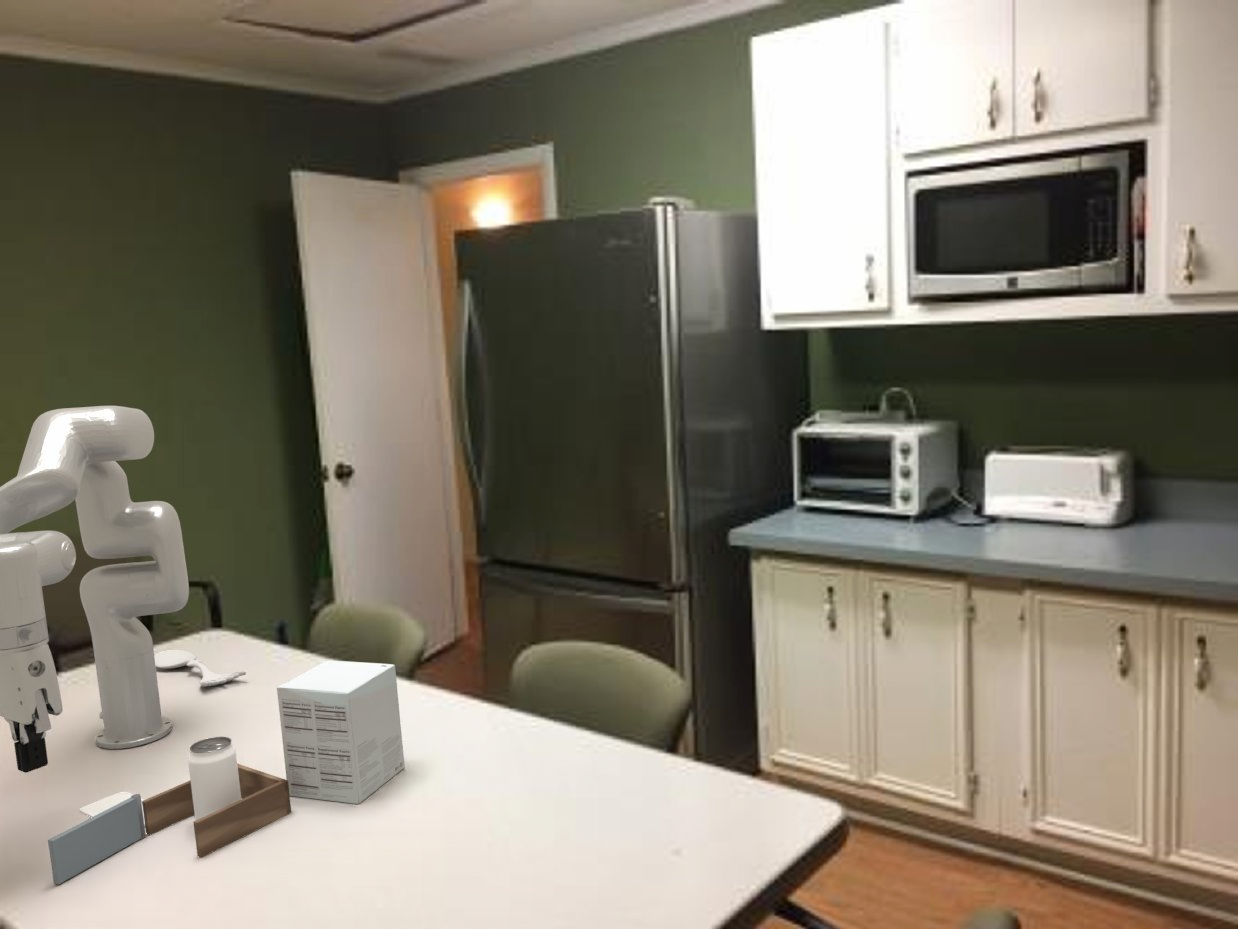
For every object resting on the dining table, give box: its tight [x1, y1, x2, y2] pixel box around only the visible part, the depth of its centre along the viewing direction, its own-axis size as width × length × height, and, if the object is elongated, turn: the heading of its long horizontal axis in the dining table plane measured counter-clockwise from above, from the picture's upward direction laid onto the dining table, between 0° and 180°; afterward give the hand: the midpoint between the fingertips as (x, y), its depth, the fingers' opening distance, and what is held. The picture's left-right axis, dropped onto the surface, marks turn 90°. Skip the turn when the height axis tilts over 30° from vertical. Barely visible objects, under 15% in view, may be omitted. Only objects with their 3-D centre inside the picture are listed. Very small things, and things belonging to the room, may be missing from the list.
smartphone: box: [79, 791, 145, 826], centre depth 155 cm, size 7×1×15 cm
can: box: [187, 736, 242, 821], centre depth 149 cm, size 6×6×12 cm
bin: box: [142, 763, 292, 858], centre depth 149 cm, size 14×15×5 cm
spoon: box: [154, 649, 247, 687], centre depth 219 cm, size 9×32×4 cm, turn 46°
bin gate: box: [47, 793, 147, 885], centre depth 140 cm, size 14×1×6 cm, turn 155°
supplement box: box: [276, 659, 406, 805], centre depth 160 cm, size 13×13×18 cm
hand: (33, 767), depth 138 cm, fingers closed
